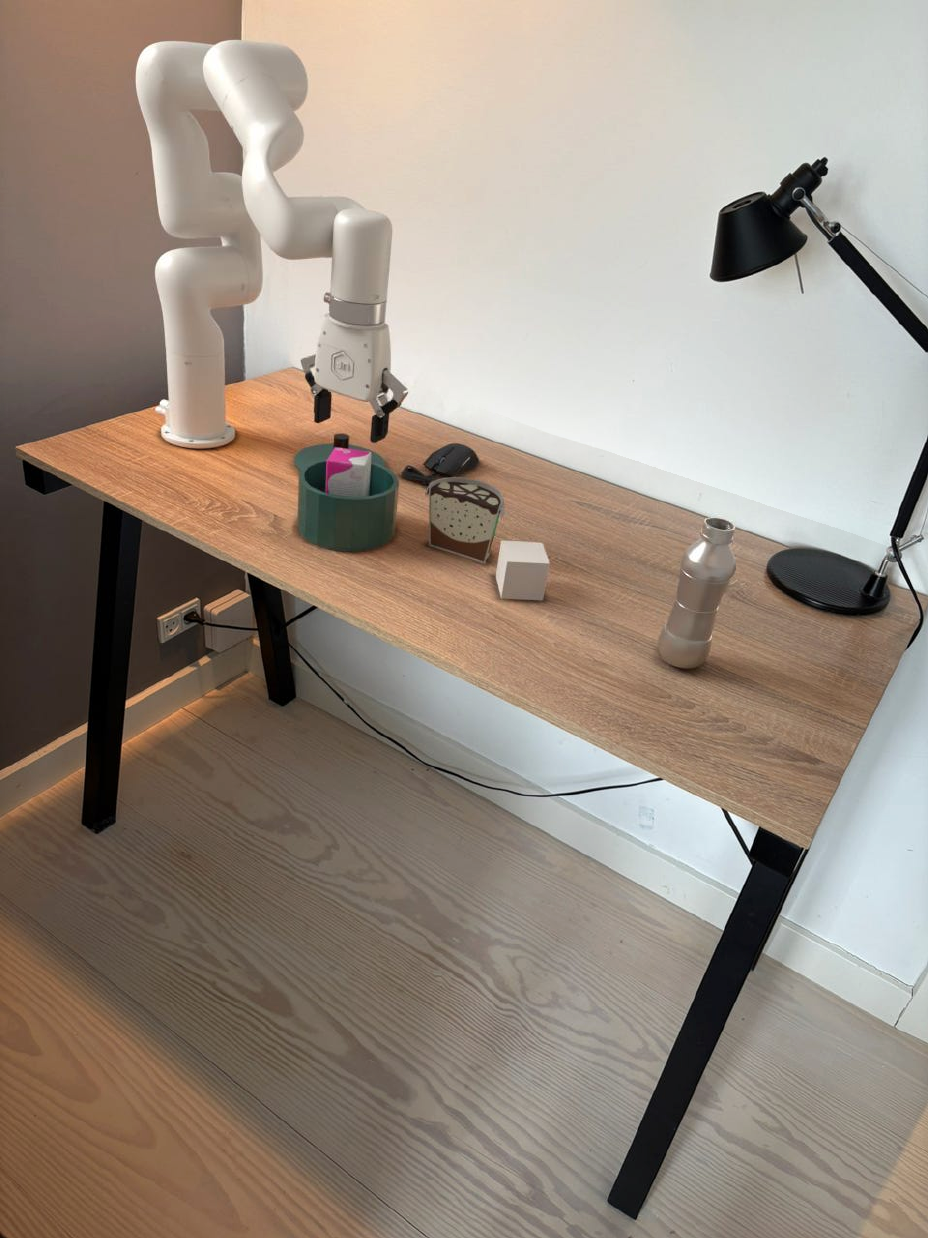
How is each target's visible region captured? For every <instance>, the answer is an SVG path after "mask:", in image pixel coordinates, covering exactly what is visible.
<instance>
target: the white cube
mask: <svg viewBox="0 0 928 1238" xmlns="http://www.w3.org/2000/svg"><path fill="white" fill-rule="evenodd" d="M498 552H499V553H498V559H497V565H496V570H495V571H496V572H495V580H496V584H497V588H498V592H499V595H500V599H501V600H522V601H523V600H524V601H525V600H526V601H544V597H545V592H546V585H547V581H548V575H549V569H550V564H551V563H550V560H549V558H548V555H547V552H546V549H545V547H544V544H543V542H538V541H537V542H536V541H520V540H519V541H516V540H500V546H499V551H498Z"/></svg>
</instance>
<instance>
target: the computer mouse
mask: <svg viewBox="0 0 928 1238" xmlns="http://www.w3.org/2000/svg"><path fill="white" fill-rule="evenodd" d="M479 463H480V458H479V456H478V454H477V453H476V452H475V450H473V449H472V448H471V447H469V446H468V445H465V444H463V443H458V442H453V443H448V444H446V445H444V446H441V447H440V448H438V449H436V450H434V451H433V452H432V453H431V454H430V455H429V456H428V457H427V458H426V459H425V461H424V462H423V464H422V465H423V466H424V467H425V468H426V469H427V470H429V471H430V472H431V474H428V475H426V474H425V473H423V472H422V471H420V470H419V469H417V468H416V467H414V466H412V465H406V466H405V467H404V468H403V470H402V471H401V477H403V479H405V480H408V481H412V482H416V483H423V484H424V485H425V486H426V487H428V486H429V484H430V483H431V482H432V481H435V480H438V478H436V476H442V477H444V478H451V477H457V475H460V474H461V473H464V472H468V471H471V470H473V469H474V468H476V467H477V466H478V465H479Z"/></svg>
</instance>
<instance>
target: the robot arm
mask: <svg viewBox="0 0 928 1238" xmlns="http://www.w3.org/2000/svg"><path fill="white" fill-rule="evenodd" d="M308 81H309V79H308V74H307V71H306V68H305V65H304V64H303V61H302V60H301V58H300V56H299V55H298V54H297V53H296V52H295V51H294V50H293V49H291V48H290V47H288V46H286V45H284V44H280V43H273V42H264V41H263V42H262V41H253V40H246V39H245V40H243V39H229V40H223V41H219V42H217V43H216V44H210V43H202V42H192V41H182V40H168V41H158V42H154V43H152V44H150V45H148V46H146V47H145V48H144V49H143V50H142V52H141V53H140V55H139V56H138V60H137V63H136V67H135V88H136V90H135V91H136V95H137V100H138V103H139V106H140V111H141V113H142V116H143V119H144V122H145V126H146V128H147V133H148V137H149V142H150V147H151V159H152V168H153V177H154V185H155V193H156V194H155V195H156V202H157V211H158V217H159V221H160V224H161V226H162V228H163V229H164V231H165V232H166V233H167V234H168V235H170V236H172V237H173V238H179V239H209V238H220V240H221V245H212V246H208V245H205V246H191V247H190V246H189V247H181V248H174V249H171V250H169V251H167V252H165V253H164V254H162V255H161V256H160V257H159V258H158V259H157V261H156V264H155V267H154V278H155V284H156V285H155V286H156V288H157V293H158V297H159V302H160V306H161V311H162V318H163V319H162V320H163V328H164V342H165V355H166V356H165V357H166V371H167V372H166V375H167V391H168V393H167V395H168V399H161V400H160V402H159V405H158V406H156V407H155V409H154V410H155V414H157V415H160V416H164V418H165V423H163V424H162V425H161V428H160V433H161V438H162V439H164V440H165V441H166V442H167V443H169V444H172V445H174V446H178V447H181V448H187V449H212V448H218V447H222V446H225V445H228V444H230V443H231V442H233V440H234V439H235V437H236V430H235V427H234V426H233V425H232V424H230V422H227V411H226V410H227V408H226V364H225V363H226V362H225V361H226V360H225V338H224V334H223V332H222V329H221V328H220V326H219V325H218V323H217V321H215V319H214V317H213V316H212V313H211V310H216V309H221V308H228V307H229V308H231V307H237V306H244V305H249V304H251V303H254V302H255V301H256V300H257V299H258V298H259V296H260V295H261V292H262V289H263V280H264V278H263V277H264V273H263V256H262V255H263V254H262V240H263V241H264V242H265V244H266V246H268V248H269V249H270V250H271V251H272V253H274V254H275V255H276V256H278V257H280V258H282V259H285V260H289V261H296V260H297V261H299V260H300V261H301V260H313V259H320V258H324V259H328V258H330V259H331V271H330V289H329V290H330V291H329V292H325V293H324V295H323V302H324V303H326V304H328V305H329V306H328V311H329V312H328V313H325V314H324V315H323V317H322V321H321V324H320V328H319V333H318V337H317V343H316V350H315V353H314V354H312V355H307V356H305V357H302V358H301V359H300V365H301V368H302V370H303V373H304V379H305V381H306V382H307V384H308V385H309V387H310V393H311V395H313V397H314V398H313V399H314V400H313V413H314V415H313V416H314V417H313V422H314V423H315V424H320V423H323V422H325V421H327V420H329V419H331V417H332V400H333V395H332V393H335V394H338V395H342V396H344V397H347V398H351V399H353V400H356V401H360V402H364V403H369V404H370V406H371V407H372V409H373V410H374V413H375V414H374V415H372V417H371V425H370V437H369V441H370V443H373V444H377V443H378V442H380V441H382V440H384V439H386V438H387V435H388V434H389V433H388V432H389V422H390V414H391V413H393V412H394V411H395V410H397V409H398V408H399V407H401V406H402V404H403V402H404V401H405V399H406V397H407V396H408V394H409V389H408V388H407V387H406V386H405V385H404V384H403V383H402V382H401V381H400V380H399V379H398V378H397V377H396V376H395V375H394V374H393V373H392V371H391V369H392V362H391V361H392V350H391V348H392V347H391V335H390V334H391V333H390V327H389V324H387V323H386V314H387V304H388V302H387V301H388V292H389V291H388V290H389V278H390V265H391V253H392V243H393V242H392V241H393V224H392V221H391V220H390V218H389V217H388V215H386V214H383V213H382V212H378V211H376V210H370V209H367V208H366V207H364V206H363V205H361V204H360V203H359V202H357V201H356V200H354V199H351V198H349V197H346V196H322V195H321V196H288V195H287V194H286V193H285V192H284V190H283V188H282V186H281V185H280V184H279V182H278V180H277V178H276V176H275V175H274V173H275V172H277V171H278V170H280V169H281V168H283V167H285V166H286V165H287V164H289V163H290V162H291V161H292V160H293V159H294V158H295V157H296V156H297V155H298V153H299V152H300V150H301V148H302V146H303V144H304V139H305V132H304V127H303V124H302V122H301V120H300V119H299V117H298V116H297V114H296V112H297V111H298V110H299V109H300V108H301V107H302V106H303V105H304V103H305V102H306V99H307V97H308V92H309V91H308V90H309V82H308ZM190 110H197V111H210V112H211V111H212V112H221V113H222V115H223V117H224V118H225V120H226V121H227V123H228V125H229V127H230V128H231V130H232V132H233V134H234V136H235V137H236V138H237V141H238V142H239V144H240V146H241V147H242V149H243V150H244V152H245V154H246V156H245V159H244V161H243V166H242V171H241V175H240V174H237V173H234V172H213V171H212V167H211V160H210V147H209V142H208V138H207V135H206V134H205V132H204V130H203V128H202V127H201V125H200V123H199V121H198V120H197V119H196V117H195V116H194V115H193V114H192V112H191V111H190ZM389 390H390V391H391V392H392V394H393V395H392V397H391V399H390V398H389V396H388V393H389Z"/></svg>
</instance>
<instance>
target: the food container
mask: <svg viewBox="0 0 928 1238" xmlns="http://www.w3.org/2000/svg"><path fill="white" fill-rule="evenodd" d="M437 479H438V478H437ZM424 495H425V496H428V546H429V547H432V548H435V549H438V550H441V551H445V552H447V553H450V554H454V555H456V556H460V557H463V558H465V559H468V560H472V561H474V562H477V563H478V562H479V563H481V564H484V565H485V564H487V562H488V561H489V557H490V553H491V549H492V545H493V542H494V537H495V534H496V530H497V526H498V523H499V519H503V518H504V517H505V513H506V510H505V509H506V508H505V507H506V506H505V500H504V495H503V494H502V493H501V491H500V490H499V489H498V488H496V487H495V486H493V485H491V484H489V483H487V482H484V481H482V480H477V479H474V478H468V477H457V476H454V477H451V478H450V477H443V478H439V479H438V480H435V481H432V482H431V483H430V484H429V486H426V491H425V494H424Z"/></svg>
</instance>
